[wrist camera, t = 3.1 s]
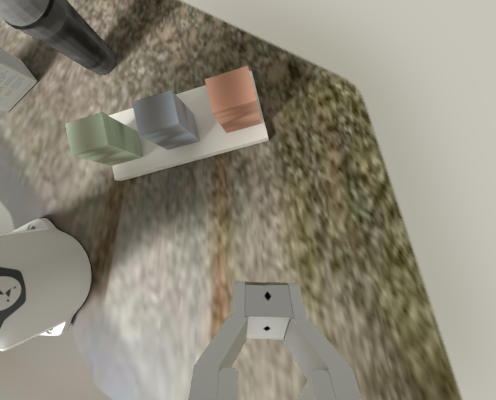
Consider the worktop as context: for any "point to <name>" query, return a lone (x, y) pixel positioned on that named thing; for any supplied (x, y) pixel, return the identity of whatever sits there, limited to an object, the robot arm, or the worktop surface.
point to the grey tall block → (165, 120)
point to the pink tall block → (233, 99)
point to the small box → (13, 80)
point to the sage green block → (103, 140)
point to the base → (209, 144)
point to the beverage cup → (60, 31)
